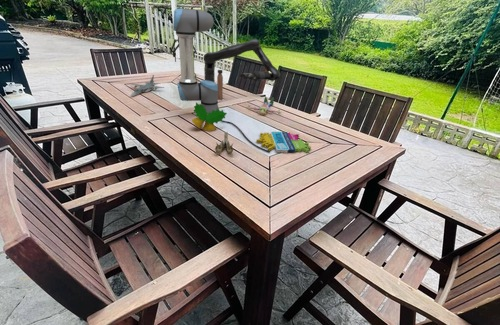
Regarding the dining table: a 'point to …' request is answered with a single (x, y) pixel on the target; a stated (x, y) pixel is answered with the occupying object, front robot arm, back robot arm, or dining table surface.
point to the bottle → (220, 85)
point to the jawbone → (224, 145)
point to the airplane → (145, 87)
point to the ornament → (207, 117)
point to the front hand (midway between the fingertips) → (184, 61)
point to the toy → (265, 107)
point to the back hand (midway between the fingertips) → (241, 76)
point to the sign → (283, 142)
